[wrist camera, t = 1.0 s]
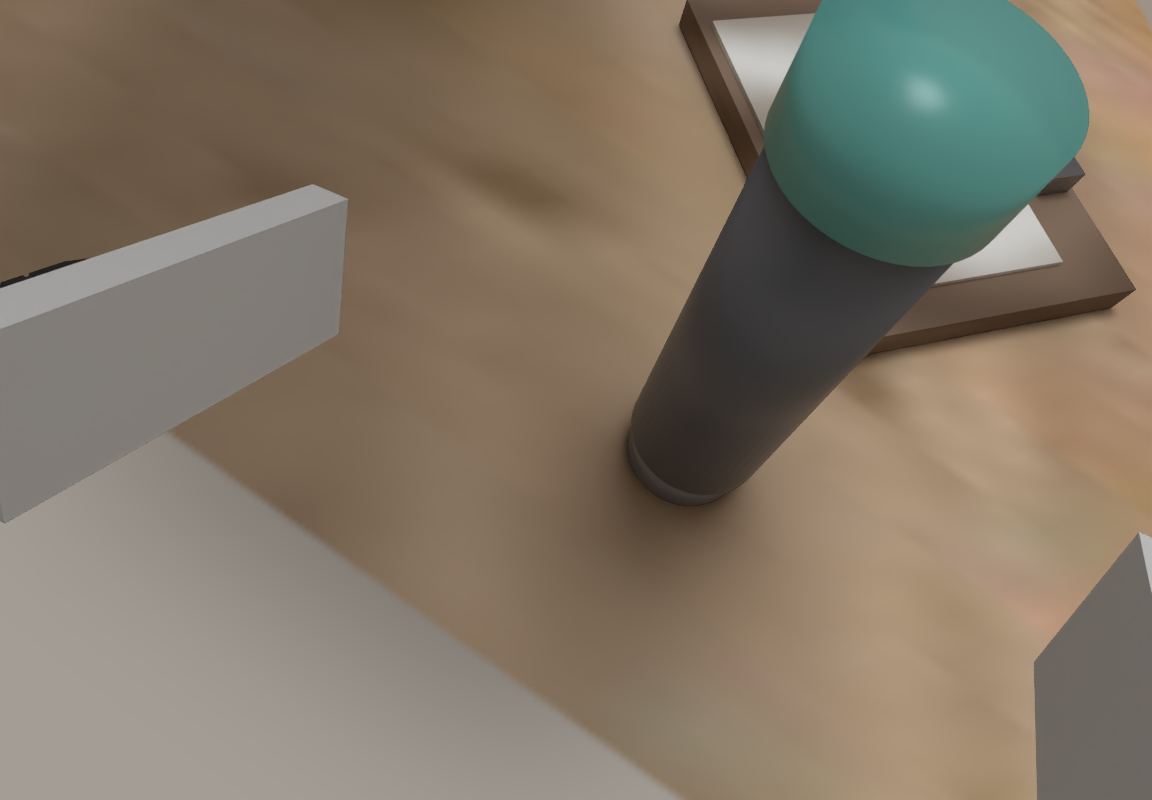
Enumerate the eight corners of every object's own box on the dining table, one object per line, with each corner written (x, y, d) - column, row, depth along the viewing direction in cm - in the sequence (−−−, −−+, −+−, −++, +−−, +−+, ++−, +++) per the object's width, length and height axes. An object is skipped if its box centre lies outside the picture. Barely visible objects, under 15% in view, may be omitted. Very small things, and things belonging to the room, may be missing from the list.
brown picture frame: (679, 24, 34) (694, -24, 32) (926, 6, 37) (954, -39, 35) (829, 361, 28) (859, 328, 26) (1112, 307, 31) (1157, 273, 29)
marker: (597, 400, 26) (768, -25, 13) (725, 376, 27) (1003, -38, 14) (639, 533, 25) (885, 201, 11) (773, 501, 26) (1143, 165, 12)
